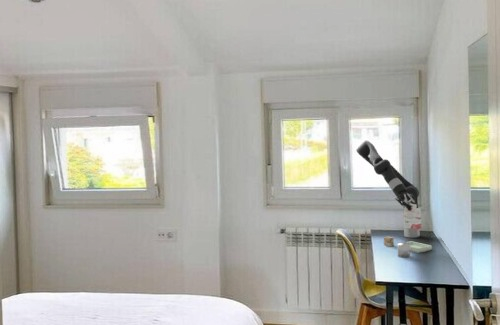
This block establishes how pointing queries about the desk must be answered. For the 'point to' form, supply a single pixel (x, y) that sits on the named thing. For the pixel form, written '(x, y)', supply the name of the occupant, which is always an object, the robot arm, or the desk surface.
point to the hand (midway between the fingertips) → (413, 209)
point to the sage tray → (418, 247)
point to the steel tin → (404, 249)
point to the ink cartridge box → (412, 217)
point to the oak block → (388, 241)
